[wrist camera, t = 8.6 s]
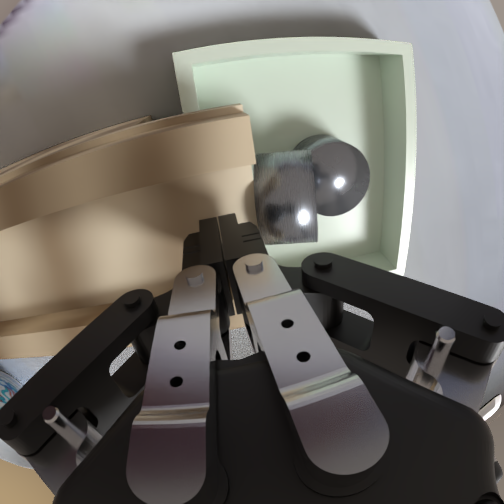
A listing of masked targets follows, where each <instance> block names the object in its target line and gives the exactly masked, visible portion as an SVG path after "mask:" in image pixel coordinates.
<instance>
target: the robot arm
mask: <svg viewBox="0 0 504 504" xmlns="http://www.w3.org/2000/svg"><path fill="white" fill-rule="evenodd" d="M218 221H219V226H218V222H217V217H212V218H207V219H202V220H199V232H196V233H191V234H189V235H188V236H187V237H186V239H185V240H184V242H183V259H182V271H181V272H180V273H179V274H178V275H177V276H176V277H175V280H174V284H173V289H171V290H170V291H168V292H166V293H164V294H161V295H159V296H157V297H153V294H152V293H151V292H150V291H149V290H146V289H135V290H132V291H129V292H127V293H125V294H123V295H122V296H121V297H119V298H118V299H117V300H116V301H115V302H114V303H112V304H111V305H110V306H109V307H108V308H107V309H106V310H104V311H103V312H102V313H101V314H100V315H99V316H98V317H97V318H95V319H94V320H93V321H92V322H91V323H90V324H89V325H88V326H86V327H85V328H84V329H83V330H82V331H81V332H80V333H79V334H78V335H77V336H75V337H74V338H73V339H72V340H71V341H70V342H69V343H68V344H67V345H66V346H65V347H63V348H62V349H61V350H60V351H59V352H58V353H57V354H56V355H55V356H54V357H53V358H52V359H51V360H50V361H49V362H47V363H46V364H45V365H44V366H43V367H42V368H41V369H40V370H39V371H38V372H37V373H36V374H35V375H34V376H33V377H32V378H31V379H30V380H29V381H28V382H27V383H26V384H25V385H24V386H23V387H22V388H21V389H20V390H19V391H18V392H17V393H16V394H15V395H14V396H13V397H12V398H11V399H10V400H9V401H8V402H7V403H6V404H5V405H4V406H3V407H2V408H1V409H0V439H1V440H3V441H4V442H5V443H6V444H8V445H9V446H10V447H11V448H13V449H14V450H15V451H16V452H17V453H18V454H19V455H20V456H21V457H23V458H24V459H26V460H27V461H28V462H29V463H30V465H31V466H32V467H33V469H34V470H35V471H36V473H37V474H38V475H39V477H40V478H41V479H42V480H43V482H44V483H45V484H46V485H47V487H48V488H49V489H50V490H51V491H52V493H53V494H54V495H55V497H54V500H53V504H504V502H503V500H502V499H501V497H500V495H499V492H498V489H497V483H498V482H499V481H500V479H501V477H502V475H503V473H502V469H501V467H500V465H499V463H498V461H497V460H496V458H495V456H494V441H493V436H492V434H491V430H490V428H489V426H488V425H487V423H486V422H485V420H484V419H483V418H482V417H481V416H480V415H479V414H478V412H479V409H480V406H481V403H482V400H483V397H484V394H485V390H486V387H487V383H488V380H489V376H490V372H491V369H492V368H493V366H494V364H495V363H496V361H497V359H498V357H499V356H500V354H501V352H502V350H503V348H504V313H503V312H502V311H500V310H498V309H496V308H494V307H491V306H488V305H485V304H483V303H480V302H477V301H474V300H471V299H468V298H466V297H463V296H460V295H457V294H454V293H451V292H448V291H445V290H442V289H439V288H437V287H434V286H431V285H428V284H425V283H422V282H419V281H416V280H413V279H410V278H407V277H404V276H401V275H398V274H395V273H392V272H389V271H386V270H383V269H380V268H377V267H374V266H371V265H368V264H365V263H361V262H358V261H355V260H352V259H349V258H346V257H343V256H340V255H337V254H333V253H328V252H320V253H314V254H311V255H309V256H307V257H306V258H305V259H304V260H303V261H302V263H301V267H285V266H280V265H278V264H277V263H276V261H275V260H274V258H273V257H271V256H269V254H268V252H267V249H266V247H265V245H264V242H263V240H262V237H261V235H260V232H259V230H258V227H257V226H256V225H255V224H253V223H251V222H245V223H240V224H238V222H237V218H236V215H235V213H231V214H226V215H221V216H218ZM219 227H220V231H219ZM220 233H221V236H220ZM221 240H222V241H221ZM229 281H230V282H229ZM230 286H231V288H230ZM231 290H232V294H233V299H234V303H235V307H236V312H237V315H238V314H242V315H243V319H244V323H245V328H246V332H247V335H248V338H249V341H250V344H251V347H252V350H253V353H254V354H253V355H250V356H248V357H246V358H243V359H240V360H233V356H232V338H231V330H230V317H229V316H234V315H235V310H234V305H233V299H232V294H231ZM344 302H345V303H347V304H350V305H352V306H355V307H357V308H360V309H362V310H365V311H367V312H368V313H369V314H370V315H371V316H372V317H373V319H374V322H373V321H371V320H368V319H366V318H363V317H361V316H358V315H356V314H353V313H351V312H348V311H346V310H343V303H344ZM130 343H131V344H132V346H133V347H134V349H135V352H134V353H133V355H132V356H131V357H130V358H129V359H128V360H127V361H126V362H125V363H124V364H123V365H122V366H121V367H120V368H119V369H118V370H117V371H116V372H115V373H114V374H113V375H112V376H110V373H109V368H110V365H111V363H112V361H113V360H114V359H115V358H116V357H117V356H118V355H119V354H120V353H121V352H122V351H123V350H124V349H125V348H126V347H127V346H128V345H129V344H130Z"/></svg>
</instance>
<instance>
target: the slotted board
mask: <svg viewBox="0 0 504 504" xmlns="http://www.w3.org/2000/svg"><path fill="white" fill-rule="evenodd" d="M253 164H256V158H255V151H254V144H253V137H252V130H251V123H250V116H249V115H248V114H246V113H244V112H243V105H242V104H240V103H238V104H232V105H226V106H220V107H214V108H209V109H204V110H199V111H194V112H189V113H184V114H180V115H175V116H171V117H166V118H162V119H158V120H154V121H152V118H151V115H149V116H146V117H142V118H138V119H134V120H131V121H127V122H124V123H120V124H117V125H114V126H110V127H107V128H104V129H101V130H98V131H95V132H92V133H89V134H86V135H83V136H80V137H77V138H74V139H72V140H69V141H66V142H63V143H61V144H58V145H56V146H53V147H51V148H48V149H46V150H43V151H41V152H38V153H36V154H33V155H31V156H29V157H26V158H24V159H22V160H20V161H17V162H15V163H13V164H11V165H9V166H7V167H5V168H2V169H0V359H13V358H29V357H42V356H54V355H56V354H57V353H58V352H59V351H60V350H61V349H62V348H63V347H65V346H66V345H67V344H68V343H69V342H70V341H71V340H72V339H73V338H74V337H75V336H77V335H78V334H79V333H80V332H81V331H82V330H83V329H84V328H85V327H86V326H88V325H89V324H90V323H91V322H92V321H93V320H94V319H95V318H97V317H98V316H99V315H100V314H101V313H102V312H103V311H104V310H106V309H107V308H108V307H109V306H110V305H111V304H112V303H114V302H115V301H116V300H117V299H118V298H119V297H121V296H122V295H123V294H125V293H127V292H129V291H132V290H135V289H146V290H149V291H150V292H151V293H152V294H153V297H157V296H159V295H161V294H164V293H166V292H168V291H170V290H171V289H173V284H174V280H175V277H176V276H177V275H178V274H179V273H180V272H181V271H182V259H183V242H184V240H185V239H186V237H187V236H188V235H189V234H191V233H196V232H199V220H202V219H207V218H212V217H217V222H218V226H219V221H218V216H221V215H226V214H231V213H235V215H236V218H237V222H238V224H240V223H245V222H251V223H253V224H255V225H256V226H257V227H258V223H257V217H256V209H255V198H254V180H253V173H252V166H251V165H253ZM258 230H259V229H258ZM219 231H220V227H219ZM220 236H221V233H220ZM221 241H222V240H221ZM229 282H230V281H229ZM230 288H231V286H230ZM231 294H232V290H231ZM232 299H233V294H232ZM233 305H234V310H235V315H234V316H229V317H230V330H232V329H237V328H242V327H245V323H244V319H243V315H242V314H238V315H237V312H236V307H235V303H234V299H233ZM127 347H132V344H131V343H130V344H129V345H128V346H127Z"/></svg>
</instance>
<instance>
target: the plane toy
mask: <svg viewBox="0 0 504 504" xmlns="http://www.w3.org/2000/svg"><path fill="white" fill-rule="evenodd" d="M500 404H501V395H498V396H497V397H495V398H494V399H493V400H491V401H490V402H489V403H488V404H487V405H486V406H484V407H483V408H482V409H481V410H480V411H479V412H478V414H479V415H480V416H481V417H482V418H483V419H484V420H486V419H488V418H489V417H490V416H491V415H493V414H494V413H495V412H496V410H497V409H498V407H499V406H500Z"/></svg>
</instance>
